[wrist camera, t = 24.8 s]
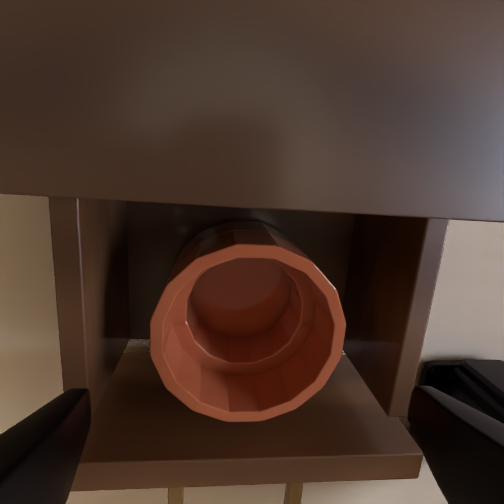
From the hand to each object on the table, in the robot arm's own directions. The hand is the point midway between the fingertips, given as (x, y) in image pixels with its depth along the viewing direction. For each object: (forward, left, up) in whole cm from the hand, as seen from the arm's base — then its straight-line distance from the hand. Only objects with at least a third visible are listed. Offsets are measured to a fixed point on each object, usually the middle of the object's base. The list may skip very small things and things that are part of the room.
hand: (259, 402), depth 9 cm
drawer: (-1, 0, -9) cm, 9 cm away
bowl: (0, 0, -8) cm, 8 cm away
